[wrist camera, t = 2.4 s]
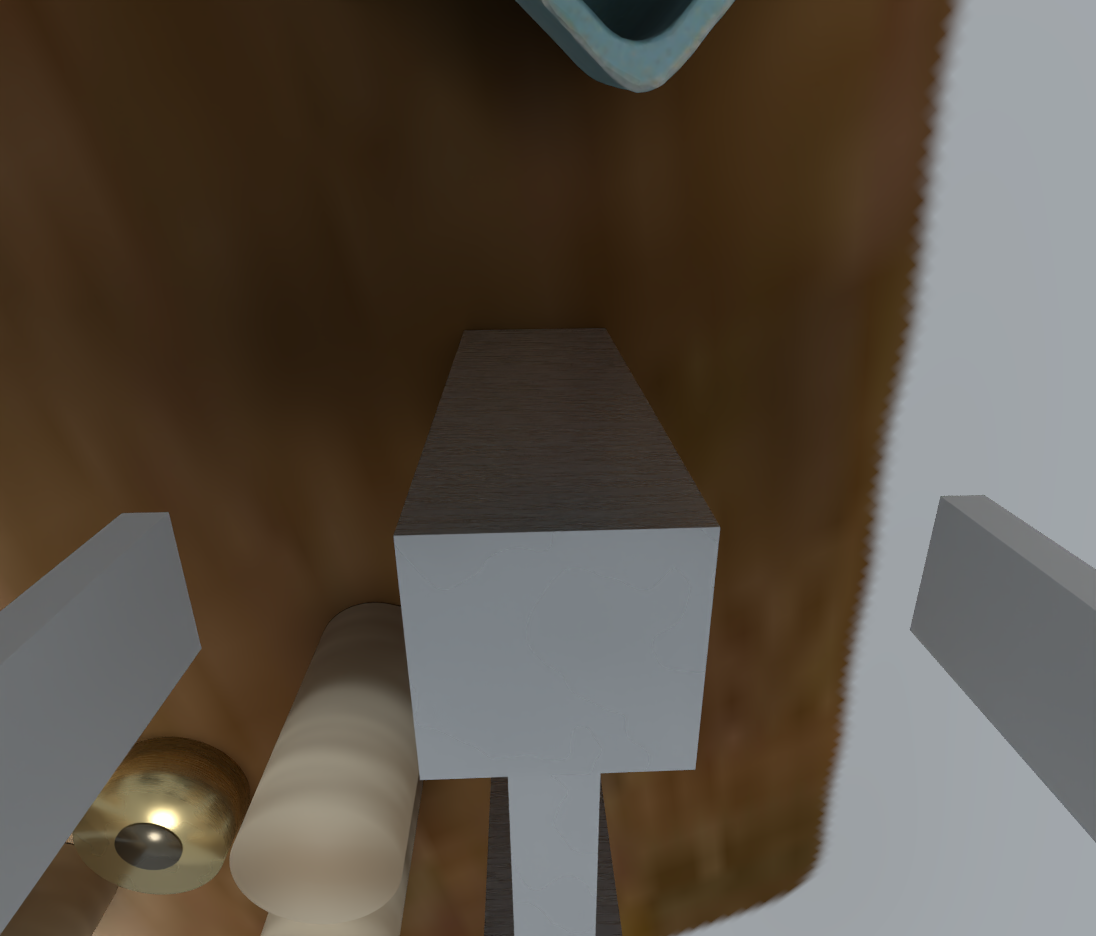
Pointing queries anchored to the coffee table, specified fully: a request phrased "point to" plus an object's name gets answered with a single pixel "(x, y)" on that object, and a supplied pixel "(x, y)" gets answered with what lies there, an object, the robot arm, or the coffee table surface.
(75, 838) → the brass round knob
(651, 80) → the flower pot
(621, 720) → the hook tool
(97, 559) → the robot arm
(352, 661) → the posts
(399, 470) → the coffee table surface
